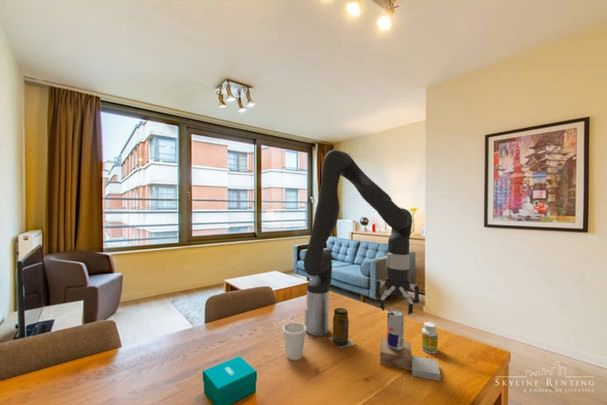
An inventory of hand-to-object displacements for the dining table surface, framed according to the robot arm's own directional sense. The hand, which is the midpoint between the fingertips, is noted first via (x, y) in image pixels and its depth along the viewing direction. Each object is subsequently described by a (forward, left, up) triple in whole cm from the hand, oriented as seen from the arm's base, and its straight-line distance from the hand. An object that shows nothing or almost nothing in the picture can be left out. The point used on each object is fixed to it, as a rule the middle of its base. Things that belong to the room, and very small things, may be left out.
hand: (396, 311), depth 96 cm
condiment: (-20, +5, -17) cm, 26 cm away
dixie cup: (-34, -10, -17) cm, 39 cm away
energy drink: (0, 0, -13) cm, 13 cm away
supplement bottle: (+12, +10, -17) cm, 23 cm away
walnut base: (0, 0, -16) cm, 16 cm away
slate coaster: (+9, -4, -16) cm, 19 cm away
